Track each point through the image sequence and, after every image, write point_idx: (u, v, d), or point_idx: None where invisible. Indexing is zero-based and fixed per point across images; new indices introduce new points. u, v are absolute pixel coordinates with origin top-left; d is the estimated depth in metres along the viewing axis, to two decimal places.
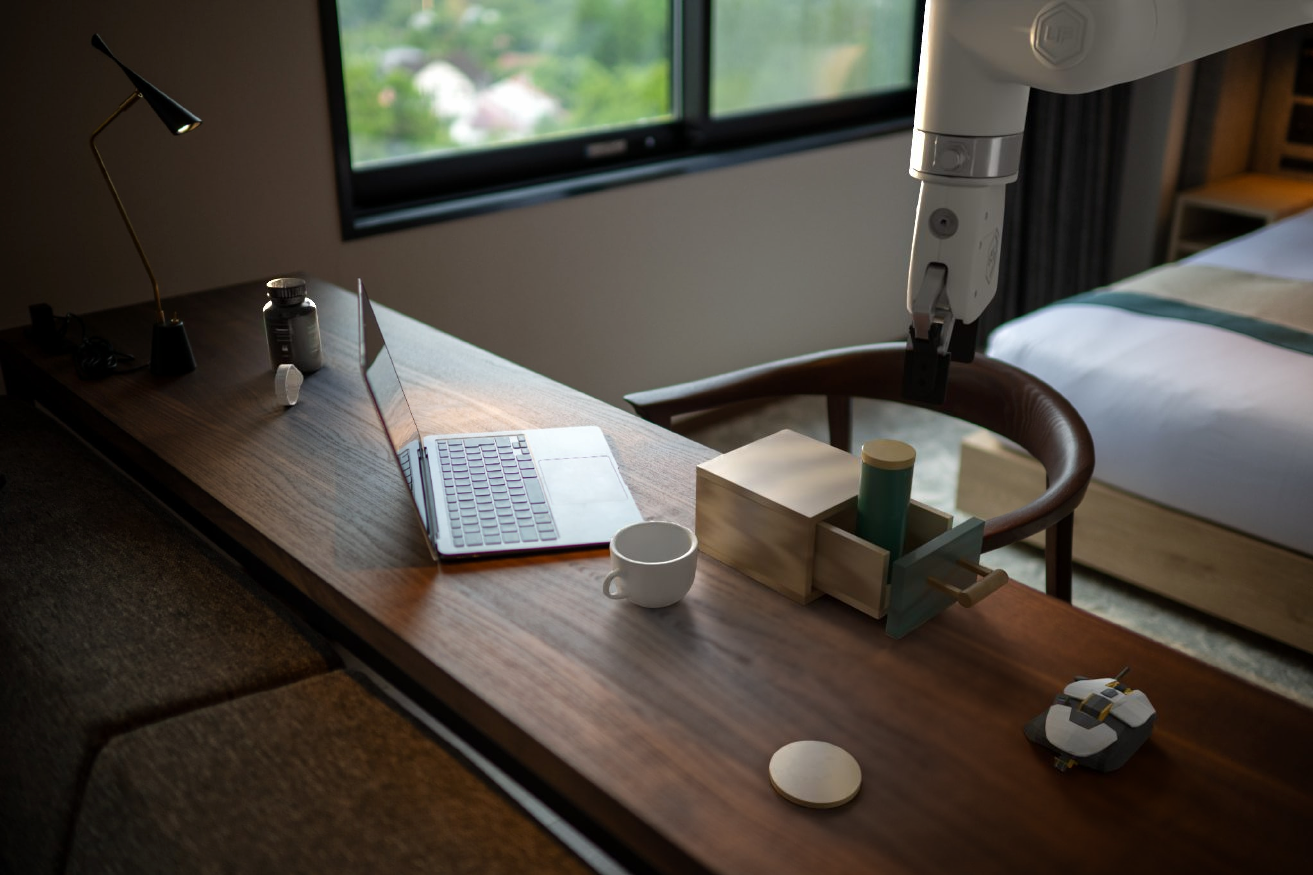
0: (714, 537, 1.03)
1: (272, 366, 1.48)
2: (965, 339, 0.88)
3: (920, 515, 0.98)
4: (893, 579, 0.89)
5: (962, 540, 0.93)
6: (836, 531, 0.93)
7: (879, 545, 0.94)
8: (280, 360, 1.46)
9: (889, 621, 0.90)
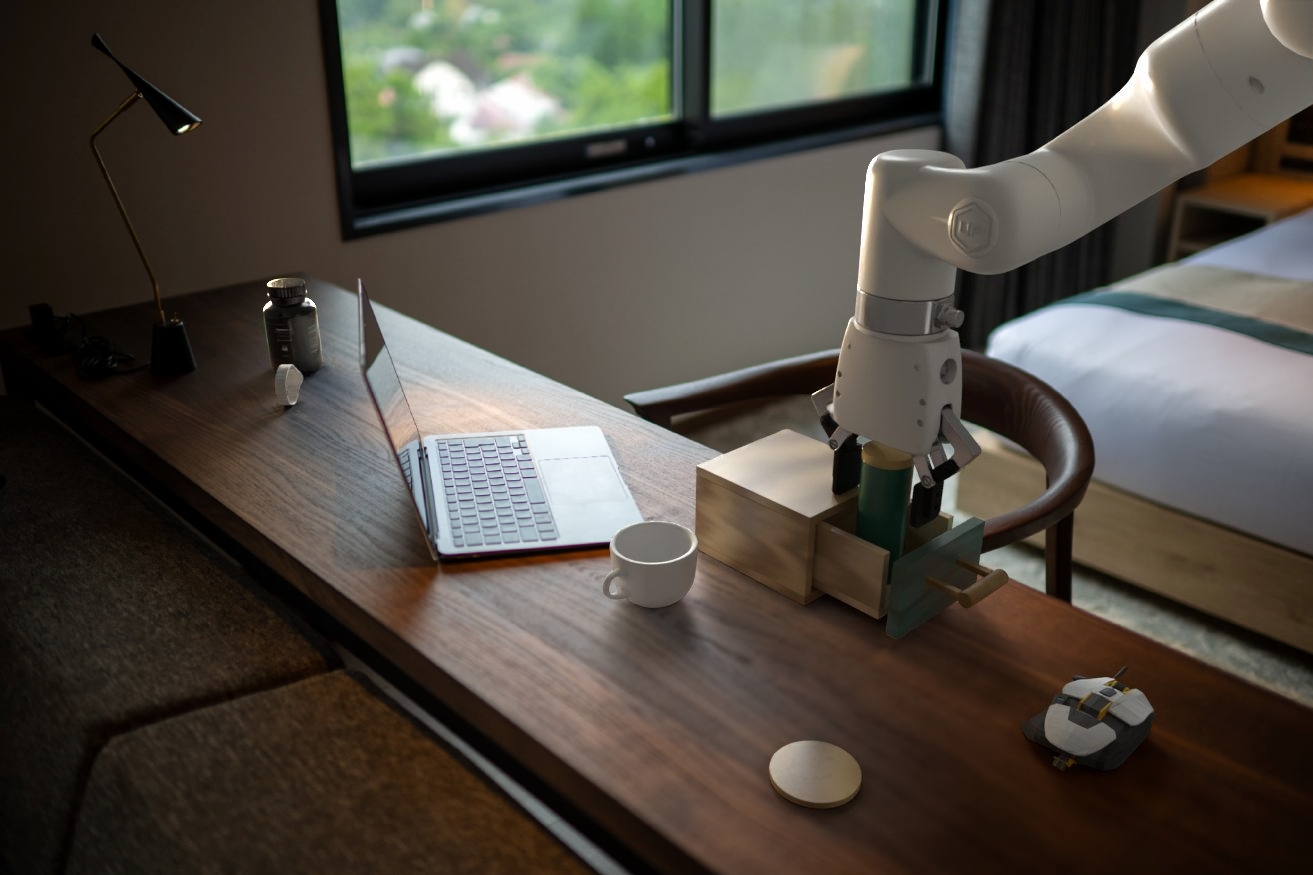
0: (714, 537, 1.03)
1: (272, 366, 1.48)
2: (856, 467, 0.97)
3: None
4: (893, 579, 0.89)
5: (962, 540, 0.93)
6: (836, 531, 0.93)
7: (879, 545, 0.94)
8: (280, 360, 1.46)
9: (889, 621, 0.90)
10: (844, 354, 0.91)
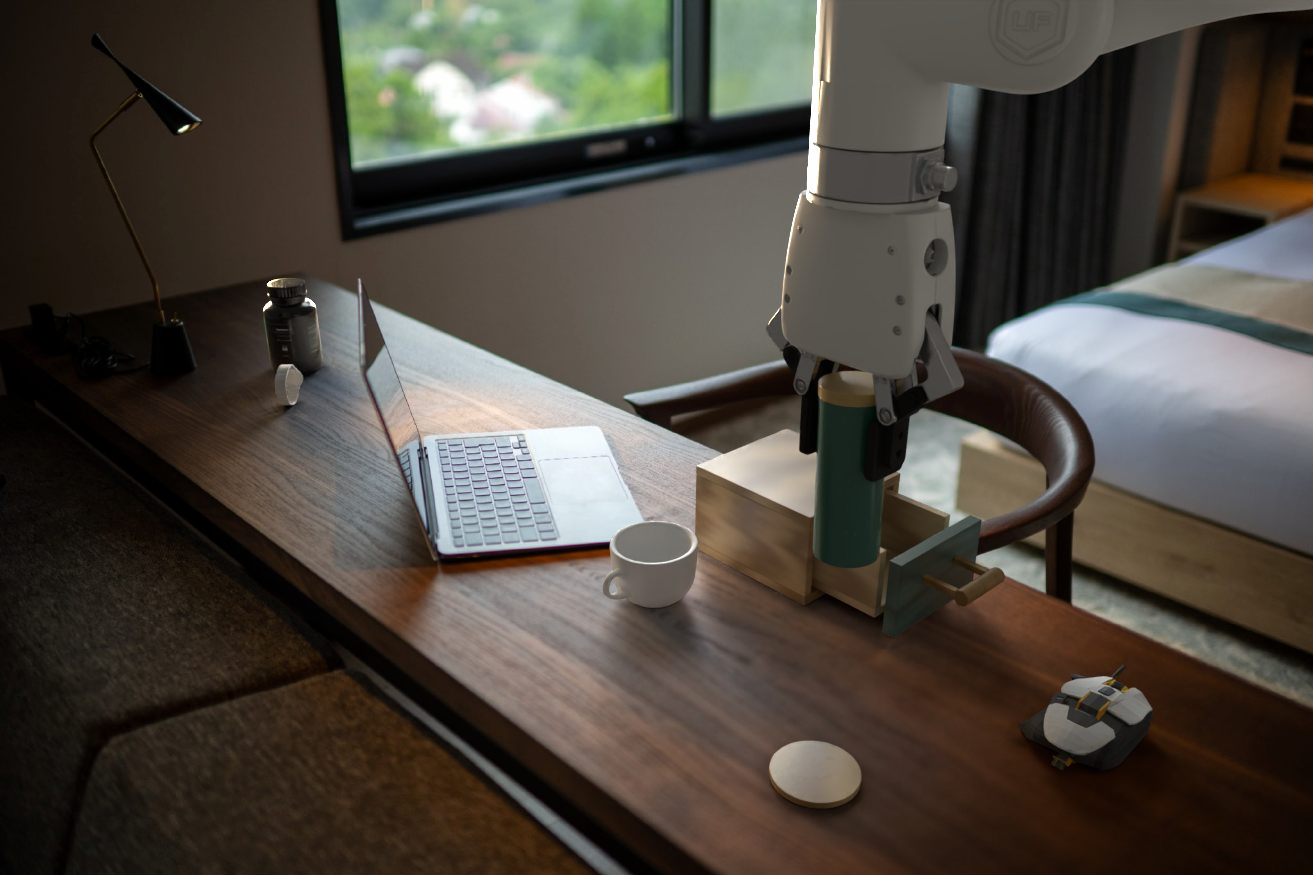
0: (714, 537, 1.03)
1: (272, 366, 1.48)
2: None
3: (917, 514, 0.98)
4: (889, 577, 0.89)
5: (959, 538, 0.93)
6: None
7: (846, 513, 0.70)
8: (280, 360, 1.46)
9: (885, 619, 0.91)
10: (793, 241, 0.66)
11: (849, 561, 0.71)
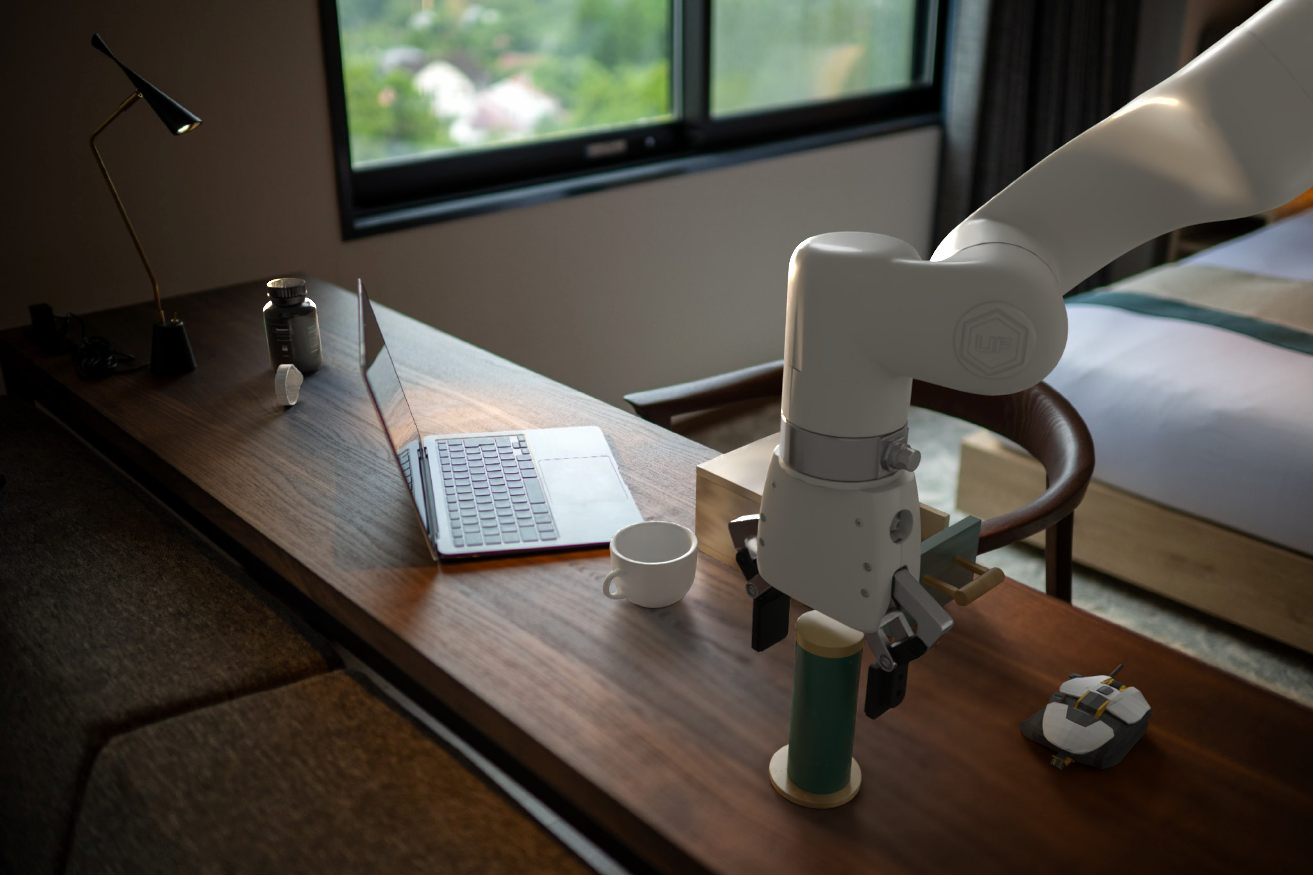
0: (714, 537, 1.03)
1: (272, 366, 1.48)
2: (783, 616, 0.76)
3: None
4: None
5: (959, 538, 0.93)
6: None
7: (819, 747, 0.73)
8: (280, 360, 1.46)
9: None
10: (767, 493, 0.69)
11: (821, 788, 0.74)
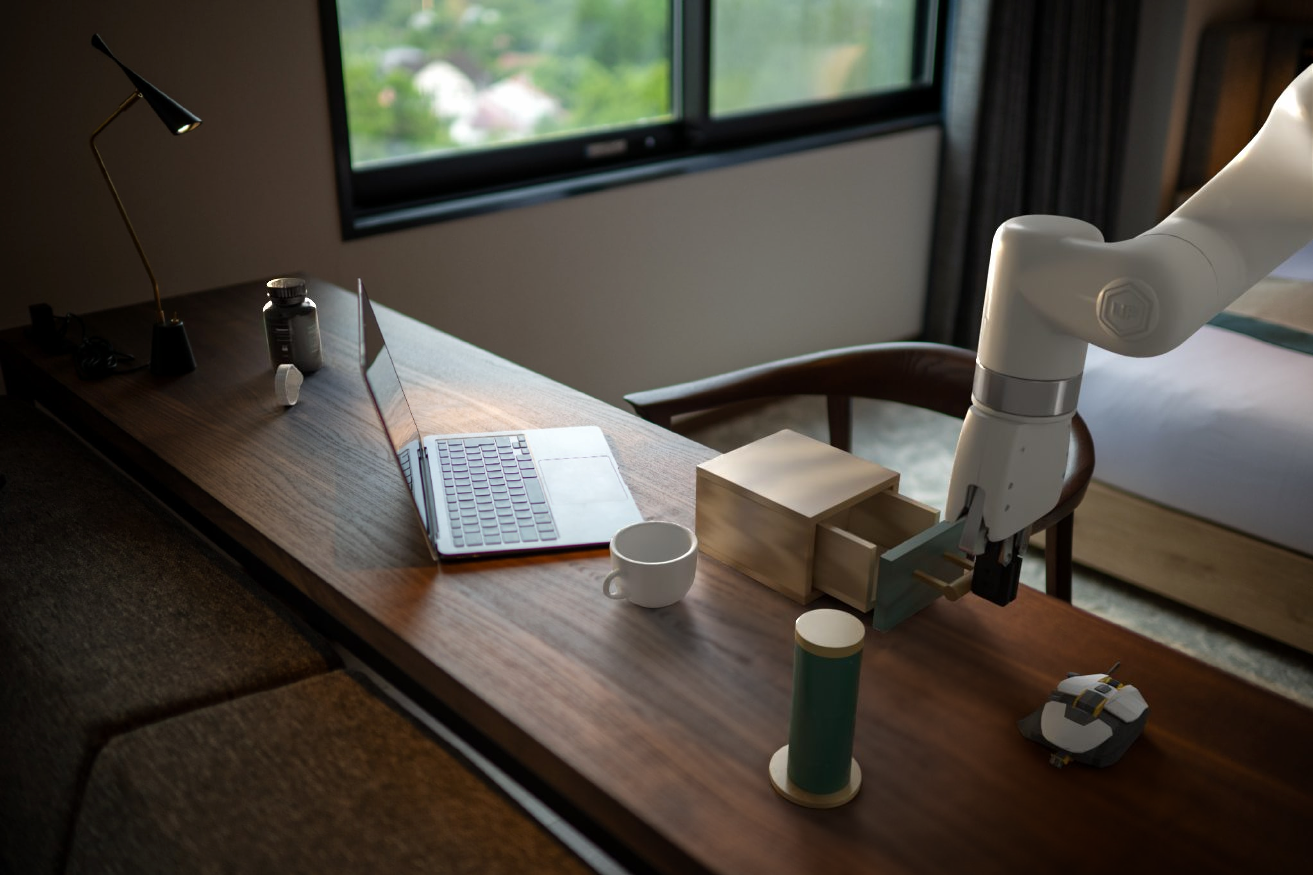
0: (714, 537, 1.03)
1: (272, 366, 1.48)
2: None
3: (908, 510, 0.99)
4: (880, 573, 0.90)
5: (949, 534, 0.94)
6: (823, 526, 0.94)
7: (819, 747, 0.73)
8: (280, 360, 1.46)
9: (876, 614, 0.91)
10: (1015, 462, 0.79)
11: (821, 788, 0.74)
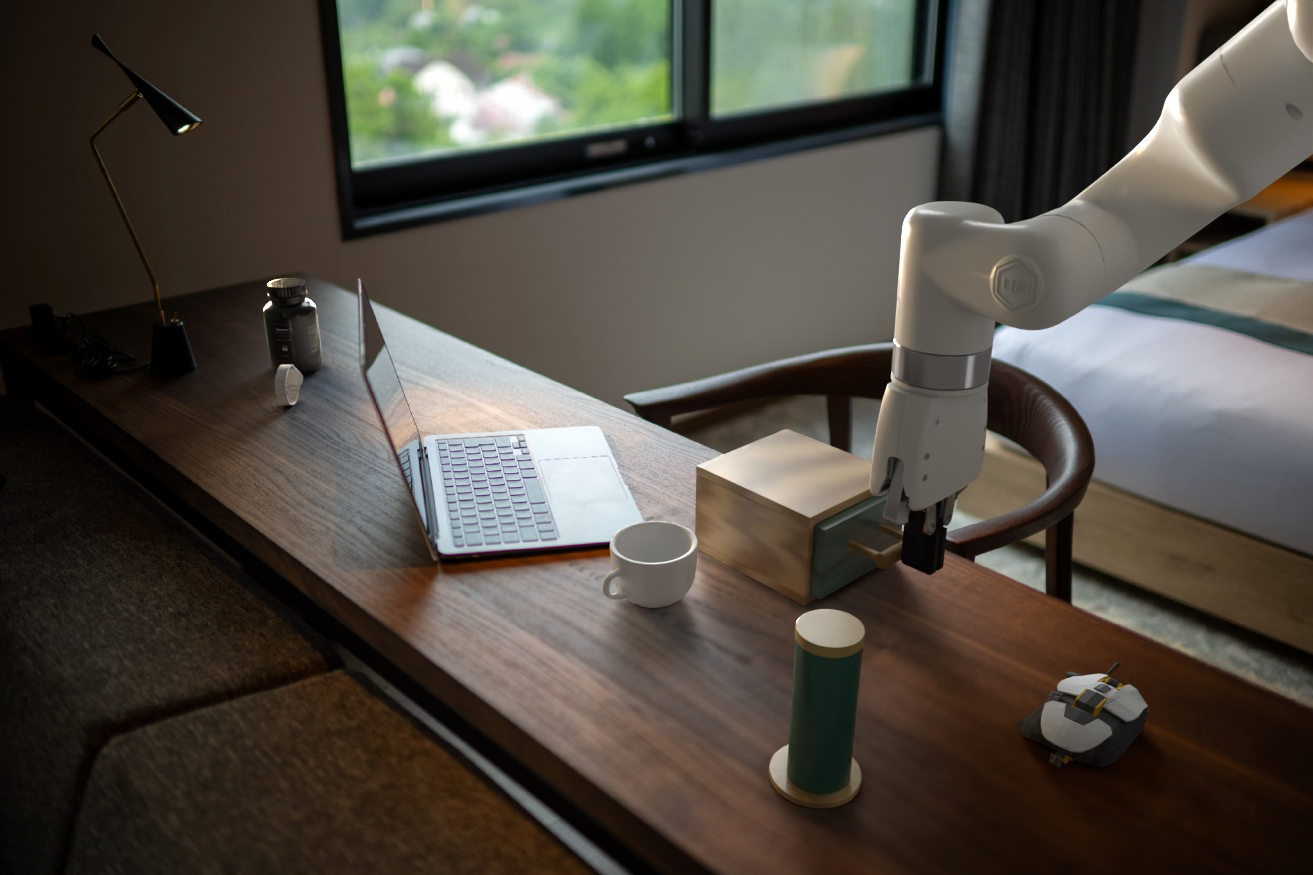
0: (714, 537, 1.03)
1: (272, 366, 1.48)
2: None
3: None
4: (814, 542, 0.94)
5: (883, 506, 0.98)
6: None
7: (819, 747, 0.73)
8: (280, 360, 1.46)
9: (812, 582, 0.96)
10: (930, 434, 0.84)
11: (821, 788, 0.74)
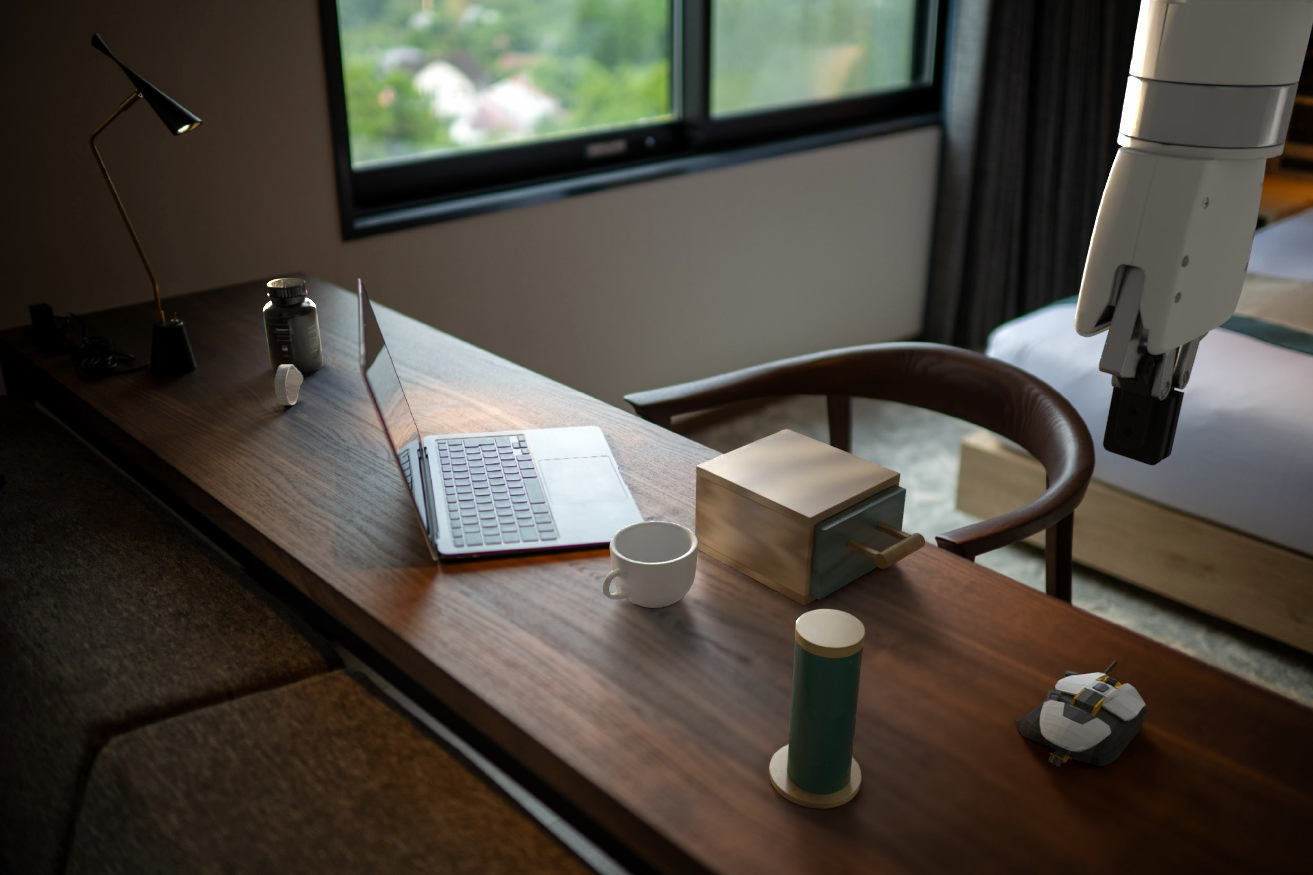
0: (714, 537, 1.03)
1: (272, 366, 1.48)
2: None
3: None
4: (814, 542, 0.94)
5: (883, 506, 0.98)
6: None
7: (819, 747, 0.73)
8: (280, 360, 1.46)
9: (812, 582, 0.96)
10: (1195, 222, 0.52)
11: (821, 788, 0.74)
